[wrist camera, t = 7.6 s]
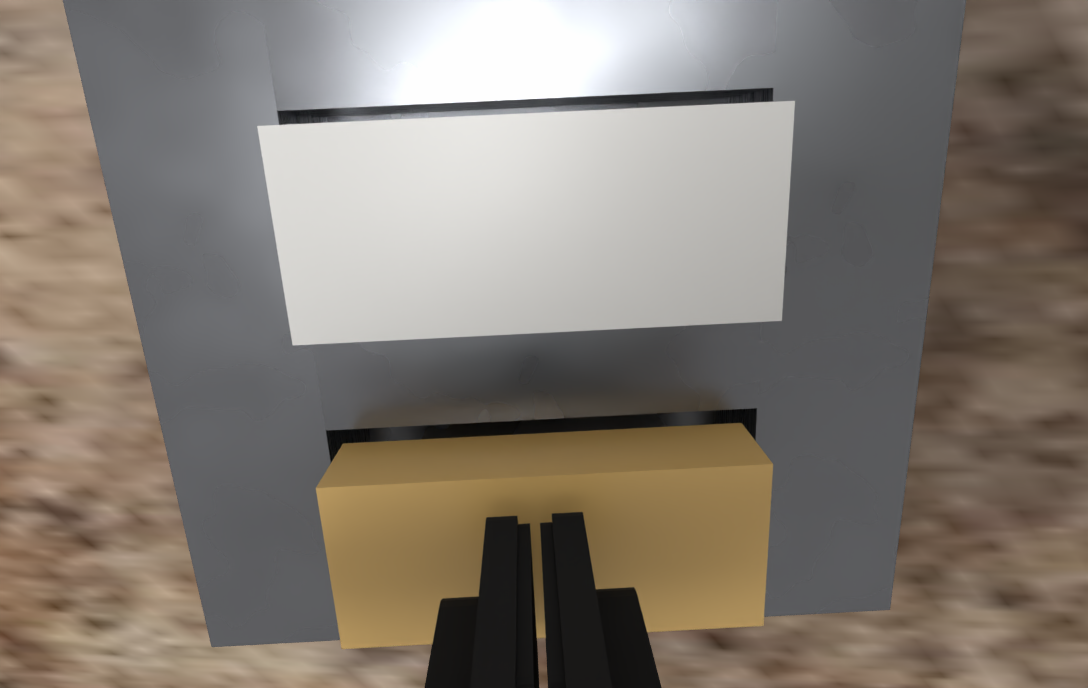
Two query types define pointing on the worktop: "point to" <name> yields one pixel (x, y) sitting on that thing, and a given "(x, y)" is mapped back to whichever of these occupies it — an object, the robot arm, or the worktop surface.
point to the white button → (531, 221)
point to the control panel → (537, 358)
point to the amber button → (533, 496)
